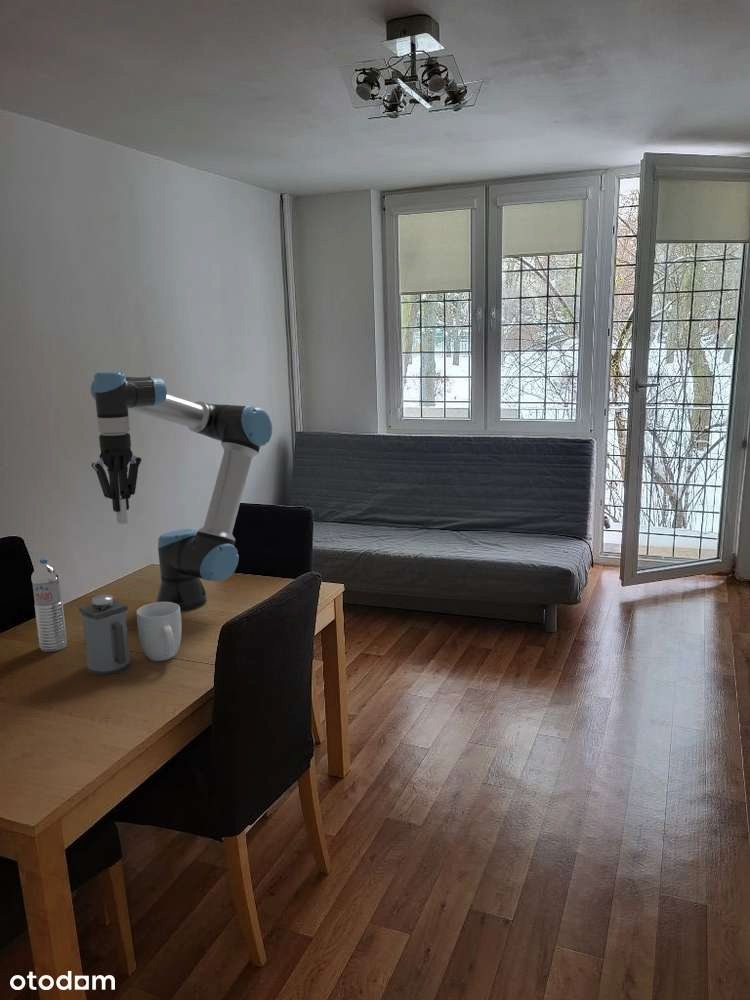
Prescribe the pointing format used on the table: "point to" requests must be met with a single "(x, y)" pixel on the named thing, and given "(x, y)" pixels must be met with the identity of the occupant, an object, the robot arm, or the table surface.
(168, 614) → the mug
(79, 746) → the table surface
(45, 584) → the water bottle
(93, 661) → the carafe
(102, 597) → the plunger
